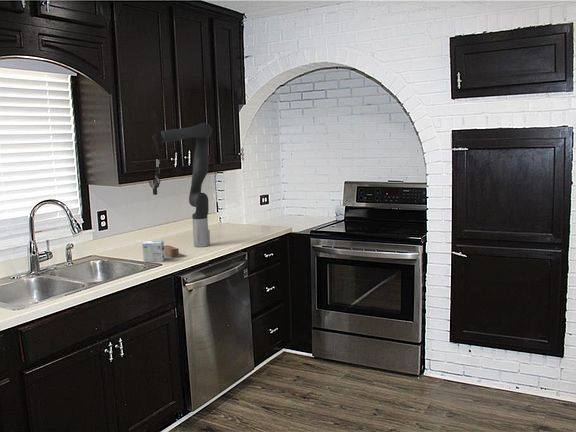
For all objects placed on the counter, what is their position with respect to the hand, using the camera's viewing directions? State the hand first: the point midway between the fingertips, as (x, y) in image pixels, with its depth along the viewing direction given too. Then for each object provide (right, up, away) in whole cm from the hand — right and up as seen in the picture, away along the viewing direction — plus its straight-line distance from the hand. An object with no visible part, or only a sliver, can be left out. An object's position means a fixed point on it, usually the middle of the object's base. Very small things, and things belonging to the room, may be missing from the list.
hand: (155, 194), depth 342 cm
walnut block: (+9, -33, -13) cm, 36 cm away
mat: (+14, -36, -19) cm, 43 cm away
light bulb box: (+7, -38, -30) cm, 49 cm away
